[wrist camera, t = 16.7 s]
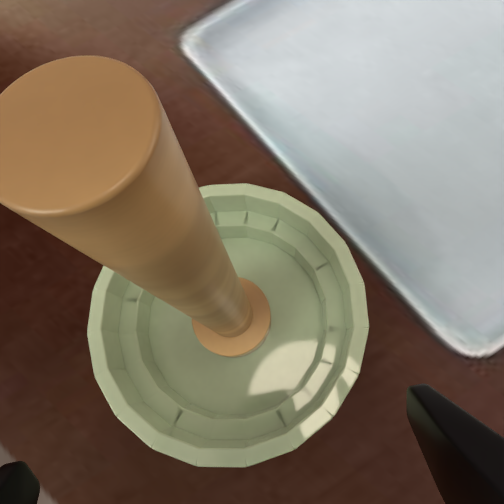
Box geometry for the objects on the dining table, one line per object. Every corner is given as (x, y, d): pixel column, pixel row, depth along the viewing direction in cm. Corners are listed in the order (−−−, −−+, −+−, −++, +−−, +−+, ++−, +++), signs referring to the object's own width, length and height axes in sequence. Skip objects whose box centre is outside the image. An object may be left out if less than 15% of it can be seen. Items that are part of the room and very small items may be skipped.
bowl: (206, 501, 16) (182, 543, 12) (90, 300, 19) (43, 282, 15) (397, 344, 17) (431, 336, 13) (258, 183, 20) (253, 140, 17)
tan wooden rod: (278, 349, 17) (270, 254, 3) (203, 364, 17) (-133, 334, 3) (263, 277, 18) (211, -27, 4) (194, 291, 18) (-82, 34, 4)
